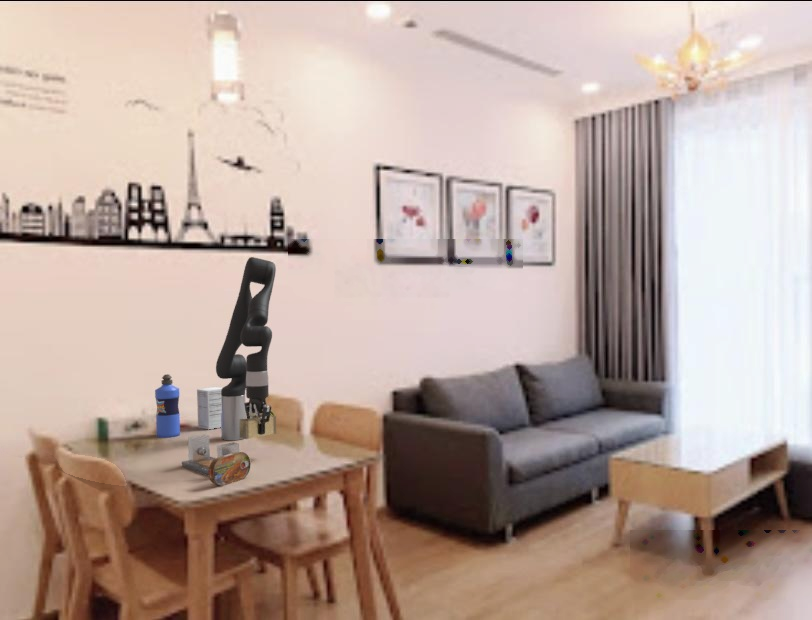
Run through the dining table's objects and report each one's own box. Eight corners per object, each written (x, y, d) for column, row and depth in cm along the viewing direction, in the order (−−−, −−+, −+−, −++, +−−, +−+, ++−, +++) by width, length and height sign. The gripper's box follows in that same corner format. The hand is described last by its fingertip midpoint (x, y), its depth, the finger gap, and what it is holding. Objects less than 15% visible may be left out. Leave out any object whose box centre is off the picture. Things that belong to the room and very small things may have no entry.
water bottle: (171, 432, 280) (169, 372, 280) (185, 434, 275) (183, 374, 274) (151, 436, 273) (149, 375, 272) (165, 438, 267) (163, 376, 267)
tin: (214, 488, 196) (213, 460, 196) (206, 487, 197) (206, 459, 197) (251, 476, 208) (251, 449, 208) (244, 475, 210) (243, 448, 210)
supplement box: (228, 426, 290) (227, 388, 290) (208, 430, 283) (207, 390, 283) (216, 424, 297) (215, 386, 296) (197, 427, 290) (196, 388, 289)
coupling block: (246, 439, 225) (245, 421, 225) (239, 437, 228) (239, 419, 228) (276, 433, 234) (275, 416, 234) (269, 431, 237) (269, 414, 237)
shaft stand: (181, 465, 223) (180, 437, 223) (208, 460, 230) (208, 432, 230) (219, 479, 205) (218, 448, 205) (247, 473, 212) (247, 443, 212)
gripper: (278, 384, 228) (278, 434, 229) (255, 381, 238) (256, 428, 239) (259, 387, 223) (259, 438, 223) (236, 383, 233) (237, 432, 233)
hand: (258, 433), depth 231 cm, fingers closed on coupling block, 4 cm apart
